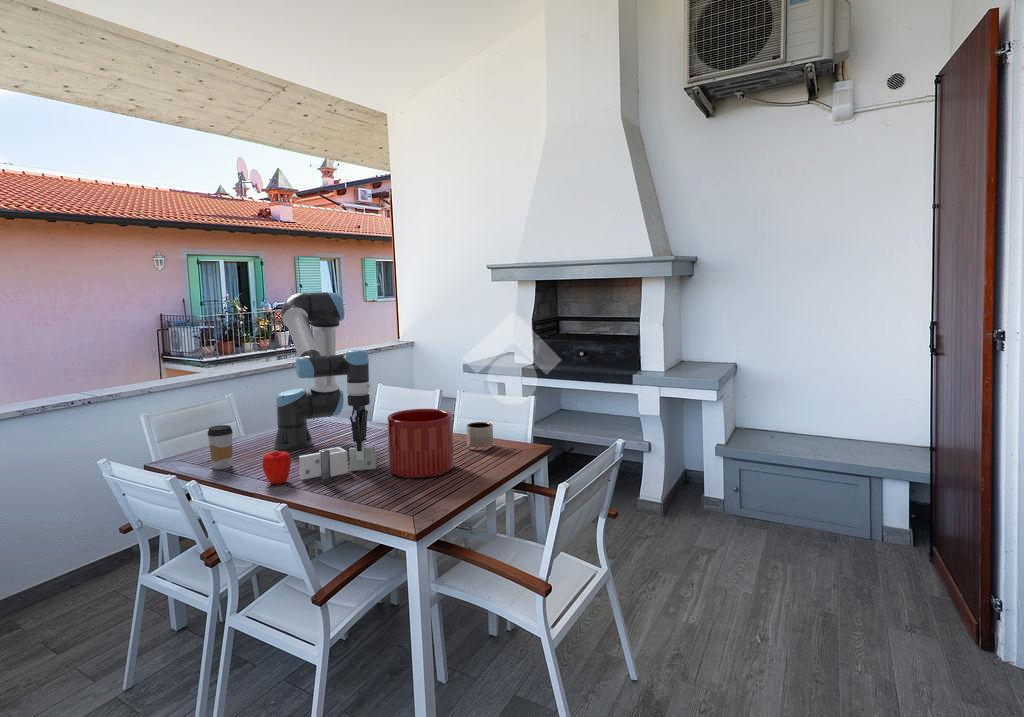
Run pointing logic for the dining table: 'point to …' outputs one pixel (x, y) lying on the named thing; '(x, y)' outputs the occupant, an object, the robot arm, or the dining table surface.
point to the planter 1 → (420, 442)
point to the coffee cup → (220, 446)
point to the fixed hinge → (312, 463)
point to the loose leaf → (363, 464)
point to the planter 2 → (479, 434)
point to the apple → (277, 466)
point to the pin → (325, 466)
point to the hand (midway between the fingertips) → (360, 459)
